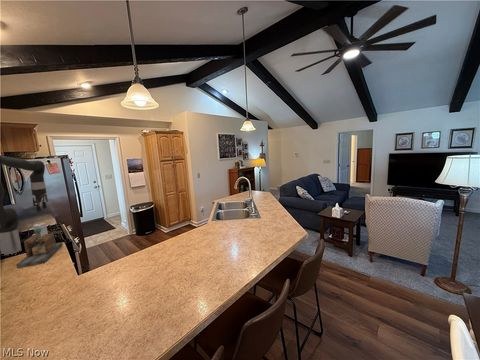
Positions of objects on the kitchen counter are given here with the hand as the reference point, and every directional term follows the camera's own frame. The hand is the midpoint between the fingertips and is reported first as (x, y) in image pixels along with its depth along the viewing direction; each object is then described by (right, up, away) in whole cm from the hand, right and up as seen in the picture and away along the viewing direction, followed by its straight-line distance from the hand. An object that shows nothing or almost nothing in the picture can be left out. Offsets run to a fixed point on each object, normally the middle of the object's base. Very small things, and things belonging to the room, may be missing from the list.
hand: (42, 209), depth 149 cm
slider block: (+4, -30, -4) cm, 30 cm away
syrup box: (-22, -29, +22) cm, 43 cm away
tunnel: (+4, -33, -4) cm, 33 cm away
